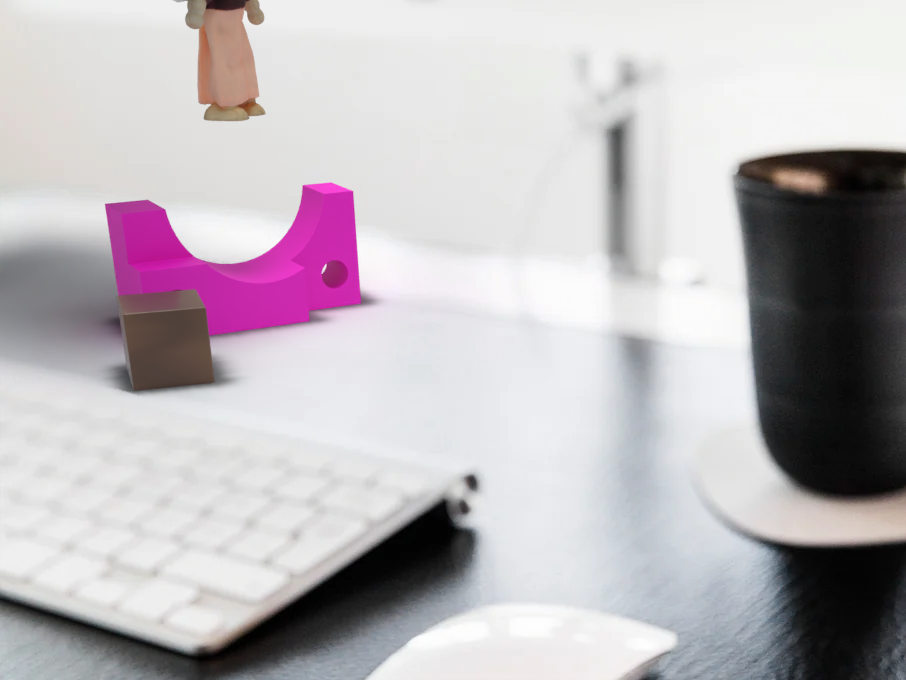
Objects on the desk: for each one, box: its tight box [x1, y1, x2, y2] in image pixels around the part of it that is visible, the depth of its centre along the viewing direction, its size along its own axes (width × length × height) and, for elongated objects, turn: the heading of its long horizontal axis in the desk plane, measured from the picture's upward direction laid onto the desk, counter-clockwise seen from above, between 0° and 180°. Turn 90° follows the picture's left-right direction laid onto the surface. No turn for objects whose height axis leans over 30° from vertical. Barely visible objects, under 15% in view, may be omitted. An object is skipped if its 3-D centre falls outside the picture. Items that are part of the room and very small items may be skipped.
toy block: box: [104, 181, 362, 337], centre depth 91 cm, size 15×6×8 cm, turn 122°
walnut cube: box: [116, 289, 216, 392], centre depth 80 cm, size 4×4×4 cm
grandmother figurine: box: [184, 0, 267, 122], centre depth 84 cm, size 8×4×13 cm, turn 174°
